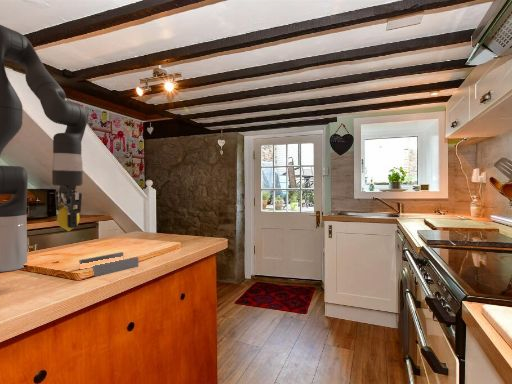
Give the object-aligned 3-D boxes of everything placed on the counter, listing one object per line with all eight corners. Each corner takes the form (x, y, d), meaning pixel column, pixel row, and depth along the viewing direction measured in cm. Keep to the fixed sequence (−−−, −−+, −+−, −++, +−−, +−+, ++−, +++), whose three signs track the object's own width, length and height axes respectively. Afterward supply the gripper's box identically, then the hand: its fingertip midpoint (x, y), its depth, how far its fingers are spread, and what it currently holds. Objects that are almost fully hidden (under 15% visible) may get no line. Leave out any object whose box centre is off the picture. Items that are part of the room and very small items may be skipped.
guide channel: (79, 269, 94) (79, 260, 94) (121, 260, 105) (121, 252, 105) (94, 276, 87) (94, 266, 87) (138, 266, 98) (138, 257, 98)
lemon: (68, 229, 90) (68, 203, 90) (83, 230, 89) (83, 204, 89) (52, 232, 85) (52, 205, 84) (69, 233, 84) (68, 205, 83)
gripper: (91, 170, 84) (92, 227, 85) (72, 170, 93) (72, 222, 94) (62, 169, 78) (62, 231, 79) (44, 169, 87) (44, 225, 88)
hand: (68, 226), depth 87 cm, fingers closed on lemon, 5 cm apart
